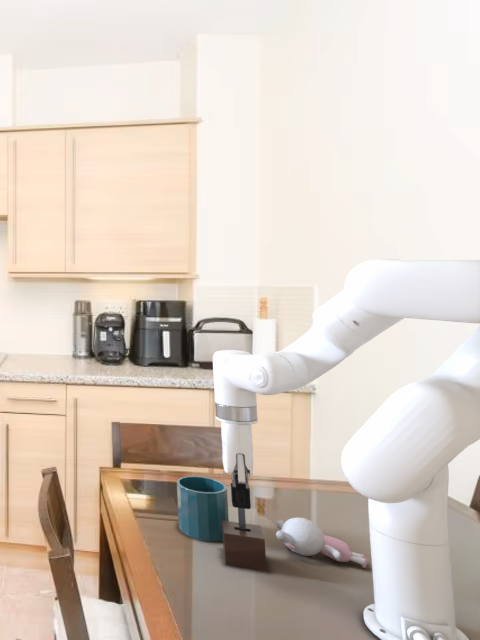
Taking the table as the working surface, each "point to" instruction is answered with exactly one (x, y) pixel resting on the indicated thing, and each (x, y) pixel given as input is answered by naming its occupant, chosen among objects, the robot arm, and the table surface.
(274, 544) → the table surface
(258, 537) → the utensil block
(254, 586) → the table surface
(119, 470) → the table surface
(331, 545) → the toy
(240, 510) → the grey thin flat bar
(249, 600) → the table surface
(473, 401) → the robot arm
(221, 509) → the teal cylindrical cup
